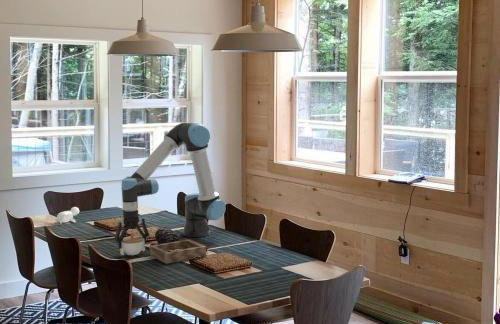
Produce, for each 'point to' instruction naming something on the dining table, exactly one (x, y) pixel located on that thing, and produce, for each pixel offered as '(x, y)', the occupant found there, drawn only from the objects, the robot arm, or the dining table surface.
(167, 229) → the pine cone
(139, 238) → the lidded jar
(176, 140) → the robot arm
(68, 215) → the white animal figurine
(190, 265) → the dining table surface
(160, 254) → the wooden tray
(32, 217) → the dining table surface
